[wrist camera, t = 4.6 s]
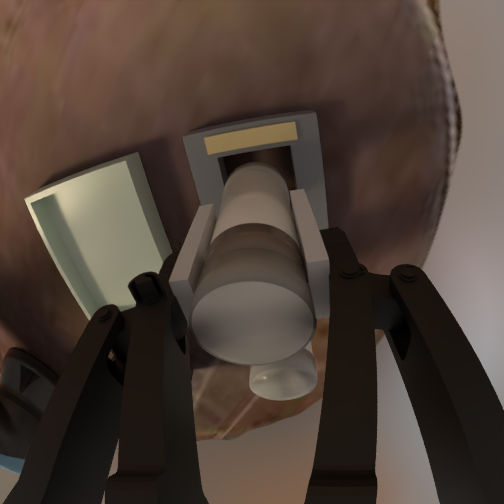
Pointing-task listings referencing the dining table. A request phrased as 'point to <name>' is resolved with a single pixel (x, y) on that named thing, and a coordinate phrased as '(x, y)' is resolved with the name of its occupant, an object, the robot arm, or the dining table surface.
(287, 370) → the fuse
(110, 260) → the parts tray
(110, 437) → the robot arm
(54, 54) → the dining table surface
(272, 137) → the fuse holder
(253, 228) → the cylinder
